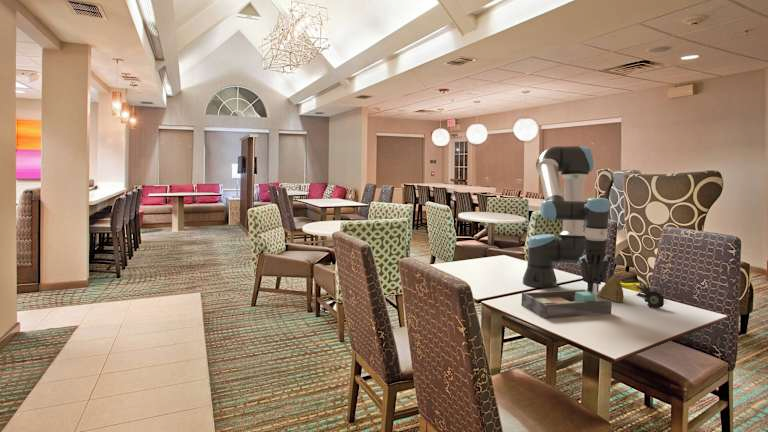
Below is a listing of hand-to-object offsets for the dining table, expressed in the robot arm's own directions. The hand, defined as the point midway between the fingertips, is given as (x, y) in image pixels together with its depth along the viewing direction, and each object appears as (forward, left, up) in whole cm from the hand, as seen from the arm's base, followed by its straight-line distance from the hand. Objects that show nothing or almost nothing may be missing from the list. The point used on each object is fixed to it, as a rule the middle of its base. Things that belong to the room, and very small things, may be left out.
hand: (592, 300), depth 172 cm
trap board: (-4, -9, -4) cm, 10 cm away
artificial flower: (-8, +33, -5) cm, 34 cm away
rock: (-13, +19, -5) cm, 23 cm away
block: (0, -3, -1) cm, 3 cm away
